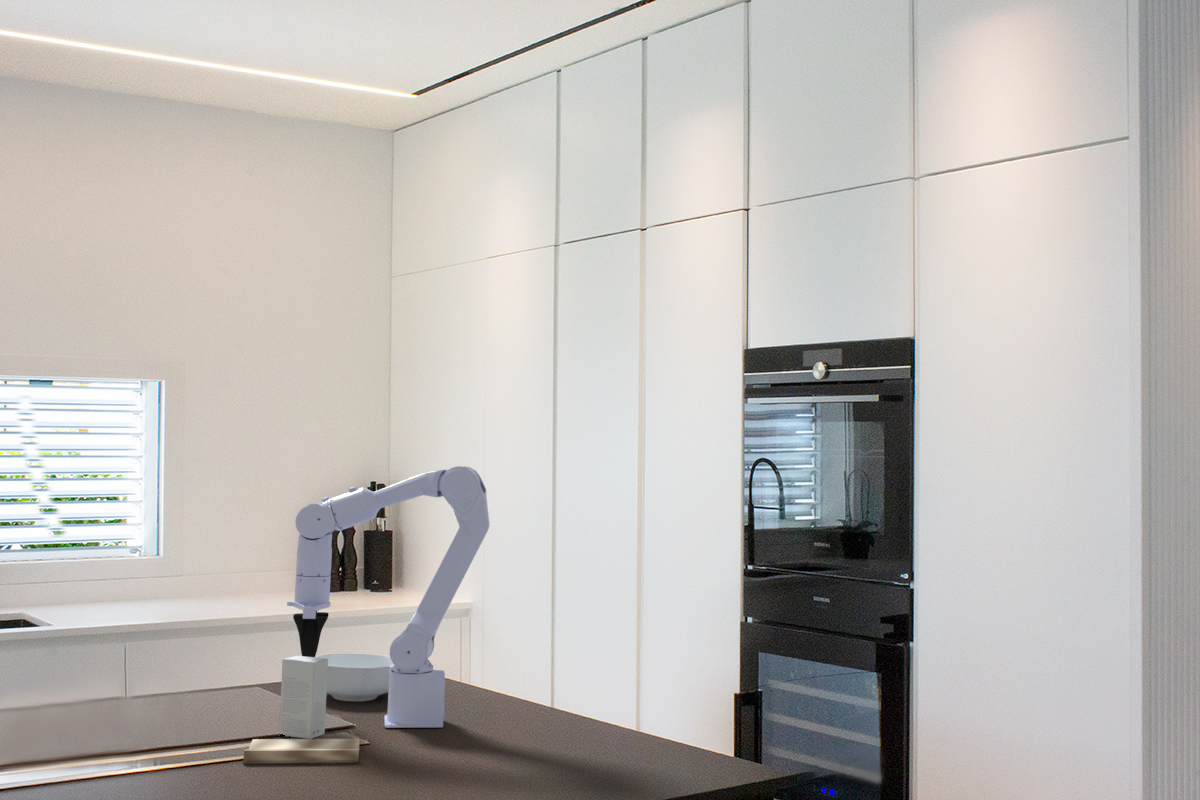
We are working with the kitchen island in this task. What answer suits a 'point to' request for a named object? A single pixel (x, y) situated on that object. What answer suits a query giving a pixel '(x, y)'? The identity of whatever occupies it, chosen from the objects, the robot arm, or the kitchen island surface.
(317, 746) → the gold metal board
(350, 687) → the cereal bowl
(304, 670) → the skincare box
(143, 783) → the kitchen island surface
